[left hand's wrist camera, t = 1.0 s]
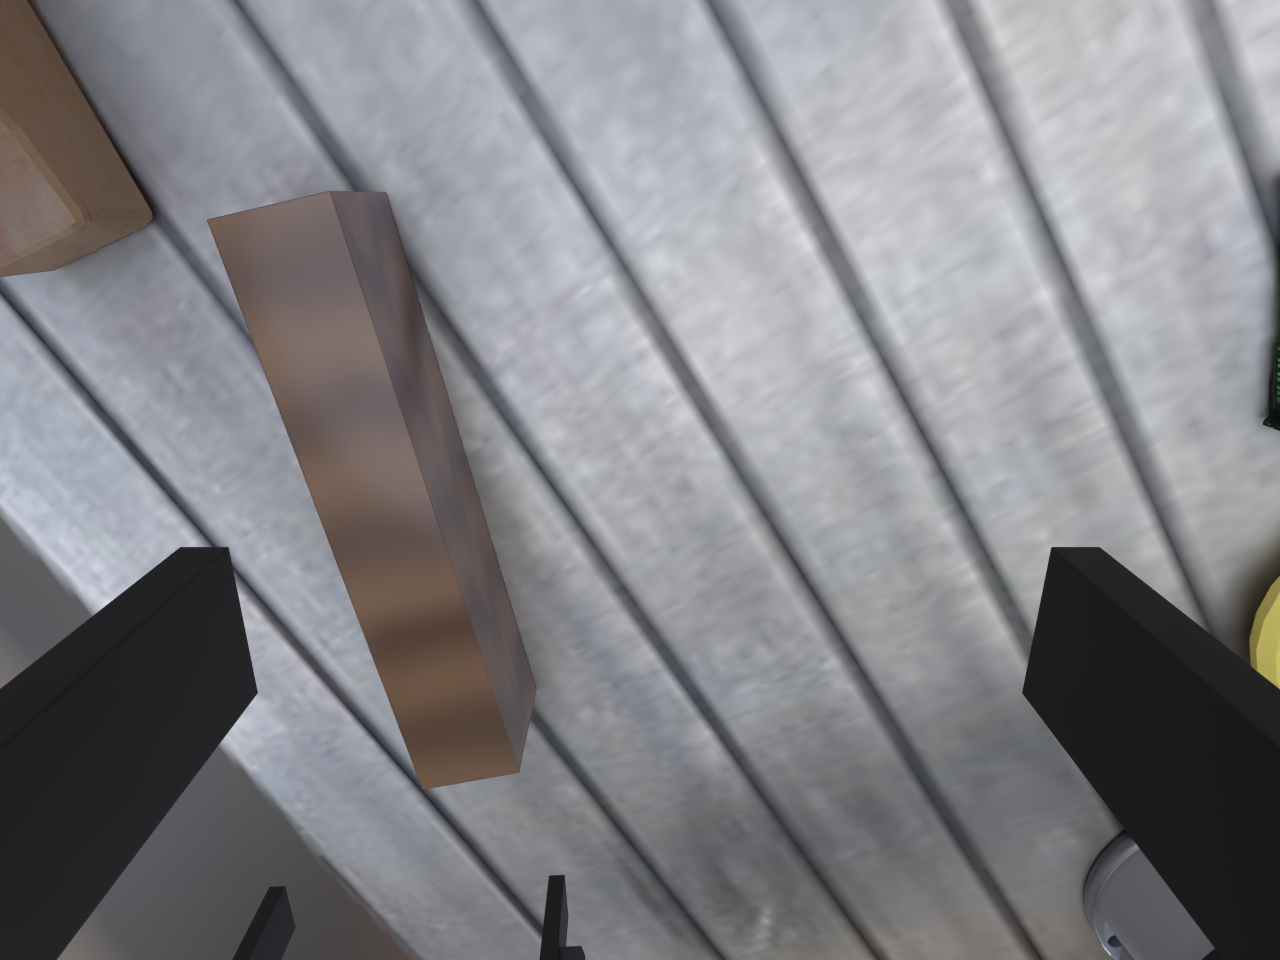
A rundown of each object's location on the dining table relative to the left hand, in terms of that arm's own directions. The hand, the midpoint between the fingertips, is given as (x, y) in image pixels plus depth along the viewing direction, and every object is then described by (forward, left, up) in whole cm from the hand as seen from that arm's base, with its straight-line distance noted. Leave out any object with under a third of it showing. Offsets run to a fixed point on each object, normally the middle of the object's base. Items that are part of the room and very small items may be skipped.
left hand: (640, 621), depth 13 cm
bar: (+11, -13, -35) cm, 39 cm away
